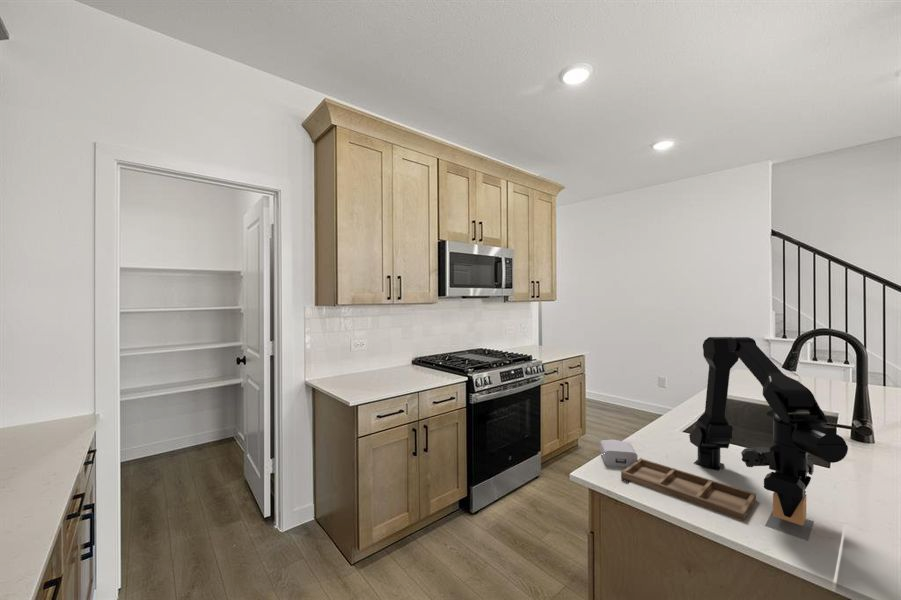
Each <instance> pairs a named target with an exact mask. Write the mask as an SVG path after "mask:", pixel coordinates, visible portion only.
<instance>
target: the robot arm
mask: <svg viewBox="0 0 901 600" xmlns="http://www.w3.org/2000/svg"><path fill="white" fill-rule="evenodd" d="M702 349H703V358H704V360H705V361H706V363H707V364H708V374H707V376H708V377H707V388H706V397H705V405H704V406H705V407H704V412H703V413H702V414H701V415H700V416H699V417H698V418H697V421H696V426H695V428H694V429H693V430H692V431H691V433H690V434H689V435H688V436H689V442H690V443H691V444H692V445H693V446H695V447H696V448H697V459H696V460H695V461H694V462H693V465H696V466H699V467H702V468H706V469H709V470H713V471H716V472H718V471H720V470H722V469H723V468H724V467H725V463H721V449H729V447H730V443H731V440H733V430H734V427H733V425H731V423H730V422H729V421H728V420H727V417H726V412H727V411H726V410H727V402H728V393H729V392H728V391H729V385H730V384H729V382H730V374H731V373H730V372H731V369H732V368H733V367H734V366H735V365H736V363H737V362H738V361H739V360H740V361H741V362H742V363H743V364H744V366H745V367H746V368H747V369H748V370H749V371H750V373H751V374H752V375H753V376H754V377H755V379H756V380H757V382H759V384H760V385H761V386H762V396H763V397H764V399H765V401H766V403H767V404H768V405H769V407H770V408H771V410H769V411H768V412H767V411H766V414H765V415H766V416H767V417H771V418H772V420H773V421H772V422H773V426H772V427H773V428H772V429H773V430H772V431H773V434H772V445H769V446H756V447H755V446H754V447H746V448H744V449H743V450H742V451H741V461H742V462H743V463H745V466H746V467H747V468H753V467H767V466H768V469H769V470H772V471H771V472H769V473H767V474H766V475H765V477H764V478H763V488H764V489H765V490H766V491H769V492H773V493H774V492H776V493H777V494H778V497H779V500H780V503H781V507H782V510H783V513H784V516H787V517H791V516H792V515H793V513H794V511H795V510H796V508H797V507H798V505H799V503H800V502H801V500H802V499H803V497H804V496H805V494H806V493H807V491H806V490H807V488H808V486H809V485H810V483H811V481H812V477H811V476H813V474H814V471H815V470H814V466H815V465H814V462H812V461H811V459H809V458H808V455H809V454H810V455H812V456H814V457H816V458H818V459H820V460H822V461H824V462H827V463H831V464H832V463H833V464H834V463H838V462H841V461H842V460H844V459H845V457H846V456H847V454H848V451H849V446H848V445H847V443H846V441H845V439H844V438H843V437H842V436H840V435H839V434H837V431H838V430H837V428H836V427H834V426H832V425H826V424H827V423H828V420H827V418H826V416H825V415H826V414H825V413H824V411H823V410H822V409H821V407H820V405H819V403H818V402H817V400H816V398H815V396H814V393H812V391H811V390H810V389H809V388H808V387H807V386H805V385H804V384H803V383H801V382H800V381H798V380H796V379H794V378H792V377H791V376H787V375H786V374H785V373H783V372H782V370H780V369H779V367H778V366H776V364H775V363H774V362H773V361H772V360H771V359H770V358H769V357H768V355H766V354H765V352H764V351H763V350H762V349H761V348H760V347H759V346H758V345H757V343H756V340H755V339H754V338H751V337H750V336H738V337H737V336H710V337H707V338H706V339H704V341H703V343H702ZM774 471H775V472H774ZM810 475H811V476H810Z"/></svg>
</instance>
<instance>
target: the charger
mask: <svg viewBox="0 0 901 600" xmlns="http://www.w3.org/2000/svg"><path fill="white" fill-rule="evenodd" d="M599 446H600V450H599V451H600V452H599V453H601V456H602V459H603V463H604V465H606V466H611V465H612V467H622V466H623V468H624V467H625V468H627V467H629V466H630V465H632V464H633V463H635V462H636V461H637V460H638V454H637V452H636V450H635V448H634V446H633V445H632V444H631V442H629V441H626V440H625V441H623V440H618V439H603V440H600V445H599ZM604 453H605V454H604ZM602 454H603V455H602ZM613 465H614V466H613Z"/></svg>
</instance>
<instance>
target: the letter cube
mask: <svg viewBox="0 0 901 600" xmlns="http://www.w3.org/2000/svg"><path fill="white" fill-rule="evenodd" d="M772 511H773V516H775V517H778V518H781V519H784V520H787V521H790V522H793V523H796V524H799V525H802V526H803V525H804V522H805V519H807V494H806V493H805V496H804V497H803V499H802V500H801V502H800V503H799V505H798V507H797V508H796V510H795V511H794V513H793V515H792V516H791V517H787V516H784V513H783V510H782V507H781V503H780V500H779V497H778V494H777V493H776V492H773V493H772Z"/></svg>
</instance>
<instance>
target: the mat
mask: <svg viewBox="0 0 901 600" xmlns="http://www.w3.org/2000/svg"><path fill="white" fill-rule="evenodd" d="M814 522H815V521H814V520H811V519H808V518H806V519H805V522H804V525H803V526H802V525H799V524H796V523H793V522H790V521H787V520H784V519H781V518H778V517H775V516H773V510H772V511H771V513H770V515H769V516H768V519H767V520H766V523H765V524H764V527H766V528H767V527H768V528H771V529H773V530H777V531H779V532H781V533H784V534H787V535H790V536H792V537H796V538H799V539H802V540H804V541H806V542H808V541H809V539H810V535H811V533H812V532H811V531H812V529H813V527H814V526H813V525H814Z"/></svg>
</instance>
